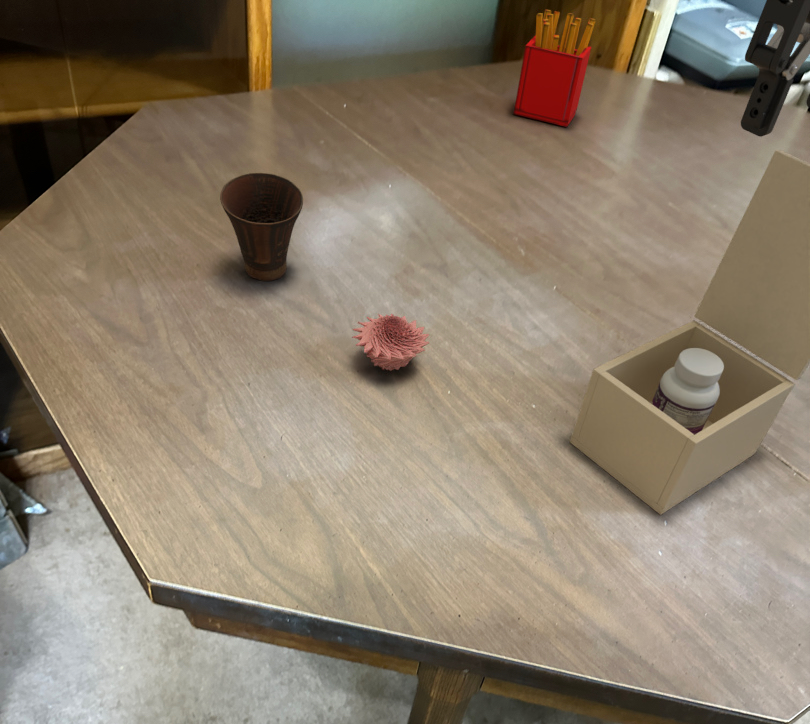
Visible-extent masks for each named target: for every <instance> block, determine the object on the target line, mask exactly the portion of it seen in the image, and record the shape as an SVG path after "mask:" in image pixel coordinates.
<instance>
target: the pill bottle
mask: <svg viewBox="0 0 810 724" xmlns="http://www.w3.org/2000/svg"><path fill="white" fill-rule="evenodd" d="M723 369H724V364H723V362H722V360H721V359H720V358H719V357H718V356H717V355H715V354H714V353H712V352H710V351H708V350H705V349H700V348H689V349H685V350H684V351H682V352H681V353H680V355H679V357H678V359H677V361H676V363H675V367H672V368H670V369H669V370H667V371H666V372H665V373H664V375H663V376H662V378H661V380H660V382H659V385H658V387H657V390H656V392H655V395H654V397H653V400H652V402H651V404H652V405H654V406H655V407H657V408H658V409H659V410H661V411H662V412H663V413H665V414H666V415H668V416H669V417H670V418H672V419H673V420H675V421H676V422H677V423H679V424H680V425H682V426H683V427H684V428H686V429H687V430H689V431H690V432H691V433H693V434H694V435H695V434H697V433H698V432H700V431H702V429H703V427H704V425H705V423H706V421H707V419H708V417H709V415H710V413H711V411H712V409H713V407H714V405H715V403H716V401H717V399H718V397H719V393H720V388H719V384H718V380H719V378H720V376H721V374H722V372H723Z"/></svg>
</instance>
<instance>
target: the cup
mask: <svg viewBox="0 0 810 724" xmlns="http://www.w3.org/2000/svg"><path fill="white" fill-rule="evenodd" d="M219 194H220V195H219V200H220V204H221V206H222V208H223V211H224V213H225V214H226V216H227V217H228V219H229V221H230V223H231V225H232V228H233V230H234V234H235V236H236V240H237V242H238V246H239V250H240V253H241V257H242V260H243V267H244V270H245V272H246V273H247V275H248V276H250V277H251V278H252V279H257V280H258V281H261V282H270V281H275V280H279V279H281V278H282V277H283V276H284V275H285V273H286V271H287V258H288V252H289V247H290V242H291V237H292V233H293V230H294V227H295V224H296V222H297V220H298V218H299V216H300V214H301V211H302V209H303V204H304V197H303V193H302V191H301V189H300V188H299V187H298V185H296V184H295V183H294V182H293V181H292V180H290V179H288V178H286V177H284V176H280V175H277V174H273V173H267V172H250V173H246V174H245V173H244V174H241V175H238V176H236V177H234V178H232V179H230V180H229V181H227V182H226V183H225V184H224V185H223V187H222V188H221V190H220V193H219Z"/></svg>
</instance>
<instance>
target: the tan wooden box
mask: <svg viewBox="0 0 810 724" xmlns="http://www.w3.org/2000/svg"><path fill="white" fill-rule="evenodd" d="M689 348H700V349H705V350H708V351H710V352H712V353H714V354H715V355H717V356H718V357H719V358H720V359H721V360H722V362H723V364H724V369H723V372H722V374H721V376H720V378H719V380H718V384H719V388H720V393H719V397H718V399H717V401H716V403H715V405H714V407H713V409H712V411H711V413H710V415H709V417H708V419H707V421H706V423H705V425H704V427H703V429H702V431H700V432H698V433H697V434H695V435H694V434H693V433H691V432H690V431H689V430H687V429H686V428H684V427H683V426H682V425H680V424H679V423H677V422H676V421H675V420H673V419H672V418H670V417H669V416H668V415H666V414H665V413H663V412H662V411H661V410H659V409H658V408H657V407H655V406H654V405H652V404H651V402H652V400H653V397H654V395H655V392H656V390H657V387H658V385H659V382H660V380H661V378H662V376H663V375H664V373H665V372H666V371H667V370H669V369H670V368H672V367H675V363H676V361H677V359H678V357H679V355H680V353H681V352H682V351H684V350H685V349H689ZM795 385H796V384H795V382H793V381H792V380H790V379H789V378H787V377H786V376H784V375H782V374H781V373H779V372H778V371H776V370H775V369H773V368H771V367H770V366H768V365H767V364H765V363H764V362H762V361H760V360H759V359H757V358H755V357H754V356H753V355H750V354H749V353H747V352H746V351H744V350H743V349H742V348H739V347H738V346H736V345H735V344H733V343H732V342H730V341H728V340H727V339H725V338H724V337H722V336H720V335H719V334H717V333H716V332H714V331H713V330H711V329H709V328H708V327H706V326H705V325H704V324H701V323H700V322H698V321H696V320H692V321H690V322H687V323H686V324H684V325H682V326H679V327H677V328H675V329H673V330H671V331H669V332H667V333H665V334H663V335H661V336H659V337H657V338H655V339H652V340H650V341H649V342H647V343H645V344H642V345H640V346H638V347H636V348H634V349H632V350H630V351H628V352H626V353H623V354H621V355H619V356H617V357H616V358H614V359H611V360H609V361H608V362H605V363H603V364H601V365H599V366H597V367H594V368H593V369H592V373H591V376H590V379H589V381H588V384H587V388H586V390H585V394H584V397H583V400H582V403H581V406H580V409H579V412H578V416H577V418H576V422H575V424H574V428H573V430H572V434H571V437H570V439H569V443H571V445H573V446H574V447H575V448H576V449H577V450H578V451H580V452H581V453H582V454H584V455H585V456H587V458H589V459H590V460H591V461H593V462H594V463H595V464H597V466H598V467H600V468H601V469H602V470H603V471H605V472H606V473H608V474H609V475H610V476H611V477H613V478H614V479H615V480H616V481H617V482H619V483H620V484H621V485H623V486H624V487H625V488H626V489H627V490H629V491H630V492H631V493H633V494H634V495H635V496H637V498H639V499H640V500H641V501H643V503H645V504H647V506H649V507H650V508H651V509H652V510H654V511H655V512H656V513H657V514H659V515H660V516H662V515H663V514H664V513H666V512H667V511H669V510H670V509H672V508H674V507H676V506H677V505H679V504H680V503H681V502H683V501H685V500H686V499H687V498H689V497H690V496H692V495H693V494H695V493H697V492H698V491H700V490H702V489H703V488H705V487H706V486H708V485H709V484H711V483H712V482H714V481H716V480H717V479H719V478H720V477H721V476H723V475H725V474H726V473H727V472H730V471H731V470H732V469H734V468H735V467H738V466H739V465H740V464H742V463H743V462H745V461H746V460H748V459H749V458H751V457H752V456H754V455H755V454H756V452H757V450H758V449H759V447H760V445H761V443H762V441H763V440H764V438H765V437H766V435H767V433H768V431H769V430H770V428H771V426H772V425H773V423H774V421H775V419H776V418H777V416H778V415H779V413H780V411H781V409H782V408H783V406H784V404H785V403H786V401H787V399H788V397H789V395H790V393H791V392H792V390H793V388H794V387H795Z"/></svg>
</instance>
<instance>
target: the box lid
mask: <svg viewBox="0 0 810 724" xmlns="http://www.w3.org/2000/svg"><path fill="white" fill-rule="evenodd" d="M754 191H755V192H754V193H753V195H752V197H751V199H750V201H749V204H748V205H747V208H746V210H745V212H744V214H743V215H742V217H741V220H740V221H739V224H738V226H737V228H736V231H735V232H734V234H733V236H732V238H731V240H730V242H729V244H728V246H727V248H726V249H725V252H724V255H723V256H722V258H721V260H720V263H719V265H718V267H717V269H716V270H715V273H714V275H713V277H712V279H711V281H710V283H709V285H708V286H707V289H706V291H705V293H704V295H703V297H702V299H701V301H700V304H699V305H698V307H697V310H696V312H695V313H694V316H693V317H694V318H695V319H697V320H699V321H701V322H702V323H704V324H705V325H707V326H708V327H710V328H711V329H713V330H715V331H716V332H718V333H720V334H722V335H723V336H724V337H726V338H728V340H730V341H732V342H734V343H736V344H737V345H739V346H740V347H742V348H743V349H745V350H747V351H749V352H750V353H752V354H753V355H755V356H757V358H760V359H761V360H763V361H764V362H766V363H768V364H769V365H771V366H773V367H774V368H775V369H777V370H779V371H780V372H782V373H784V374H785V375H787V376H788V377H790V378H791V379H793V380H795V381H798V380H799V379H801V378H802V376H803V375H804V373H805V371H806V370H807V368H808V366H809V365H810V163H809V162H807V161H805V160H804V159H802V158H799V157H796V156H795V155H792V154H790V153H788V152H787V151H783V150H782V149H777V150H774V152H773V154H772V156H771V159H770V160H769V163H768V165H767V167H766V168H765V171H764V173H763V175H762V177H761V179H760V181H759V183H758V185H757V187H756V189H755V190H754Z"/></svg>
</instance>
